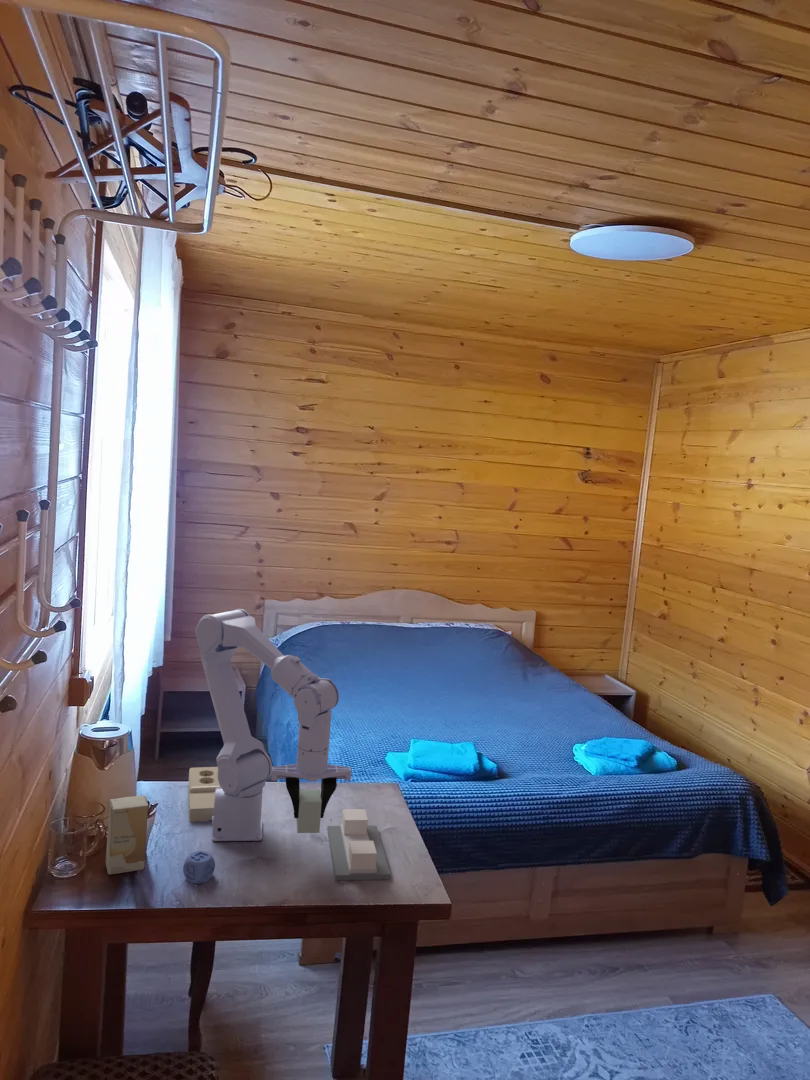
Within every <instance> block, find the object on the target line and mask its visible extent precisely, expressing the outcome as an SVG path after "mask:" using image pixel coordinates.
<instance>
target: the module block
mask: <svg viewBox="0 0 810 1080" xmlns="http://www.w3.org/2000/svg"><path fill="white" fill-rule="evenodd" d="M321 804H322V801H321V789H300V791H299V801H298V818H295V820H296V821H295V822H296V833H297V834H320V830H321V819H322V818H321Z"/></svg>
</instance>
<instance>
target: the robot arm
mask: <svg viewBox="0 0 810 1080" xmlns="http://www.w3.org/2000/svg"><path fill="white" fill-rule="evenodd" d="M194 634H195V637H196V641H197V645H198V648H199V652H200V660H201V664H202V669H203V671H204V676H205V679H206V682H207V687H208V690H209V693H210V694H209V695H210V698H211V701H212V704H213V705H212V706H213V708H214V712H215V716H216V720H217V724H218V726H219V730H220V734H221V738H222V742H223V747H222V748H221V749H220V751H219V753H218V755H217V756H216V759H215V760H216V765H217V767H218V781H219V784H220V786H221V788H216V790H215V801H214V816H212V821H211V826H212V836H211V837H212V839H211V840H212V841H213V842H239V841H241V842H243V841H244V842H247V841H248V842H249V841H255V842H257V841H258V842H259V841H262V840H263V819H262V807H263V793H264V792H263V790H264V789H263V788H264V787H266V781H267V780H268V779H269V778H271V781H272V782H273V781H278V780H285V787H286V790H287V793H288V795H289V798H290V800H291V803H292V804H291V805H292V809H293V818H294V819H296V818H298V801H299V791H300V790H301V788H300V780H307V782H318V781H319V780H321V781H320V782H321V783H320V785H321V786H320V794H321V801H322V804H321V818H320V819H324V816H325V815H324V814H325V812H326V808H327V806H328V803H329V802H330V799H331V798H332V795H333V794H334V793H335V791H336V790H337V786H338V784H337V780H344V781H345V782H350V781H352V769H351V766H344V765H343V766H342V765H335V764H328V762H329V751H330V750H329V749H330V739H331V737H330V735H331V727H332V726H331V724H332V709H334V708H336V707H337V705H338V703H339V700H340V693H339V690H338V687H337V685H335V683H334V682H333V681H332V679H329V678H327V677H326V678H325V677H324V678H321V677H320V676H318V675H317V674H316V673H314V672H312V671H311V670H310V669H309V668H308V667H306V666H305V664H304V663H302V662H301V658H299V657H298V656H297V655H296V656H294V655H293V654H288V655H284V654H283V653H282V652H281V651H280V650H279V648H278V647H276V646H275V645H274V644H273V643H272V641H271V640H270V639H269V638H268V637H267V636H266V635H265V634H264V633H263V632H262V630H260V629H259V628H258V627H257V621H256V619H255V617H254V616H251V615H250V613H249V612H248V611H247V610H245V609H243V608H236V609H234V610H230V611H229V610H228V611H223V612H219V613H215V614H214V613H213V614H211V613H209V614H206V615H203V616H201V618H200V619H199V621H198V623H197V626H196V627H195V630H194ZM240 647H241V648H244V649H245V650H246V651H248V652H249V653H250V654H251V655H253V656H254V657H255V658H257V659H258V660H259V661H261V662H262V663H263V664H264V665H265V666H267V667H268V668H269V669H270V676H271V679H272V680H273V681H274V682H275V683H276V684H277V685H278V686H279V687H280V688H281V689H283V691H285V692H286V693H287V694H288V695H289V696H290V697H291V698H293V705H294V708H295V710H296V713H297V721H298V737H297V738H298V739H297V753H296V763H292V764H285V765H284V764H283V765H275V766H273V762H272V759H271V758H270V756H269V755H268V753H267V752H266V749H265V747H264V743H263V742H262V741H260V740H258V739H257V738H255V737H253V736H252V733H251V730H250V726H249V723H248V718H247V715H246V712H245V708H244V705H243V700H242V697H241V693H240V691H239V686H238V682H237V679H236V676H235V673H234V669H233V664H232V661H231V660H232V658H233V656H234V654H235V653H236V651H237V650H238V649H239V648H240Z"/></svg>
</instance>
